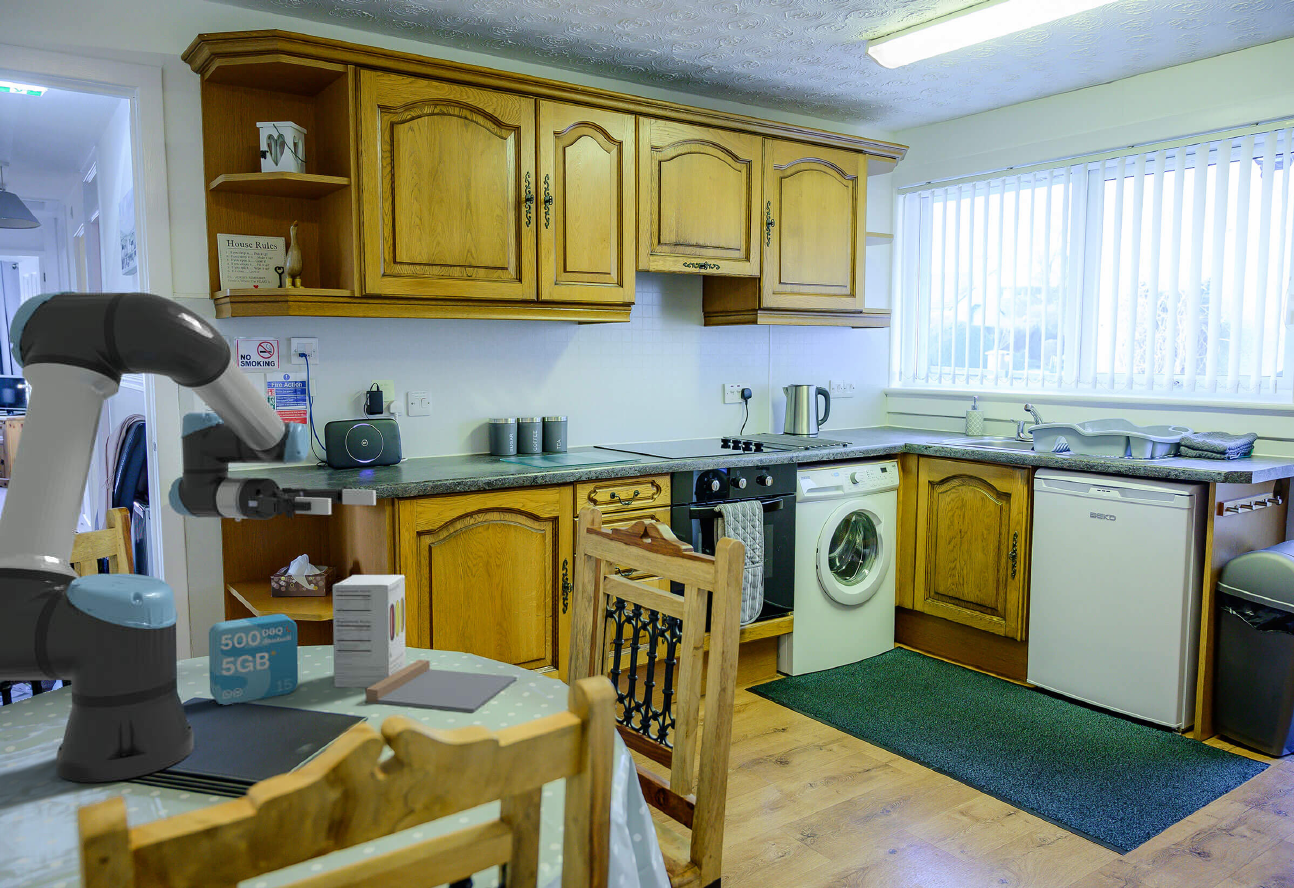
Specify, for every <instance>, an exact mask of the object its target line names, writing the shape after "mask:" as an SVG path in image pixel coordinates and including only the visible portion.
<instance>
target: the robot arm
mask: <svg viewBox="0 0 1294 888" xmlns="http://www.w3.org/2000/svg"><path fill="white" fill-rule="evenodd" d="M8 338H9V343H10V344H12V347H11V348H10V351H11V352H10V353H11V356H12V357H13V359H14V361H15V363H16V364H17V365H18V366H19V367H20V368H21V369H22V370H21V376H22V378H23V379H24V380H25V381H26V383H28V385H30V387H31V391H30V395H29V399H28V402H27V403H28V404H27V407H26V411H25V415H24V419H23V423H22V428H21V433H20V436H19V441H18V444H17V448H16V453H15V456H14V460H13V465H12V470H11V473H10V477H9V481H8V486H7V489H6V495H5V498H4V501H3V506H2V510H1V514H0V683H2V682H5V681H13V682H14V681H70V683H71V684H70V685H71V686H70V687H71V711H70V713H69V716H68V720H67V723H66V727H65V730H64V735H63V740H62V742H61V744H60V745H58V749H57V752H56V773H57V774H58V776H59V777H61V778H62V779H65V780H68V781H72V782H77V783H103V782H104V783H106V782H115V781H120V780H126V779H132V778H137V777H141V776H145V775H149V774H151V773H155V772H158V771H161V770H165V769H166V767H167V768H168V767H171V766H173V765H175V763H176V764H178V763H179V762H181V761H183V760H184V759H186V758H187V757H188V756H190V755H191V753H192V752H193V750H194V747H195V745H194V743H195V742H194V730H193V727H192V725H191V724H190V723H189V722H188V719H187V715H186V711H185V709H184V705H183V703H182V700H181V698H180V695H179V693H178V664H177V662H178V661H177V660H178V659H177V650H178V649H177V619H178V613H177V609H176V601H175V599H176V598H175V594H174V590H173V588H172V586H171V585H169V584H168V583H167V582H166V581H164V580H162V579H159V578H156V577H154V576H153V577H152V576H149V575H144V574H134V573H113V574H111V573H97V574H96V573H95V574H90V575H83V576H79V574H77V572H76V571H75V570H74V569H73V568H72V566H71V564H70V563H71V559H72V555H73V550H74V549H73V548H74V545H75V541H76V534H77V531H78V525H79V521H80V516H81V511H82V506H83V502H84V497H85V492H86V487H87V483H88V478H89V473H90V469H91V463H92V460H93V454H94V449H95V446H96V445H95V444H96V440H97V435H98V430H99V426H100V421H101V417H102V413H103V407H104V402H105V401H106V400H107V399H110V398H111V397H113V396H115V395H117V394H118V393H119V391H120V385H121V380H122V377H123V375H139V374H141V375H142V374H147V375H149V374H151V375H159V376H164V377H167V378H170V379H171V381H173V382H174V383H175V384H177V385H178V386H180V387H183V388H188V389H191V390H192V391H193V392H194V393H195V395H197V396H198V398H200V399H201V401H203V402H204V403H205V405H207V406H208V407H209V409H210V410H212V412H188V413H186V414H184V416H183V417H182V426H181V427H182V429H181V431H182V432H181V437H180V438H181V443H182V449H181V450H182V476H179V477H177V478H175V480H174V481H173V482H172V483H171V484H170V485H171V486H170V487H171V488H170V490H169V491H168V496H167V497H168V502H169V505H170V506H171V509H172V510H173V511H174V512H175V513H177V514H179V515H181V516H186V517H189V516H190V517H193V518H194V517H195V518H213V519H214V518H215V519H217V518H219V519H221V518H222V519H234V520H235V522H239V523H240V522H241V520H242V519H249V520H266V521H267V520H269V519H272V518H274V517H275V516H276V515H278V516H281V515H284V514H286V515H285V516H286V517H285V518H287V519H289V518H294V516H295V515H294V514H296V515H297V514H298V515H299V514H302V515H303V514H304V515H325V516H329V515H332V504H342V505H354V506H356V505H357V506H376V505H377V492H376V489H375V490H374V489H350V488H348V486H347V485H342V487H341V488H303V487H302V488H300V487H299V488H298V487H297V488H292V487H280V486H279V484H278V483H277V482H276V481H275V480H274V479H272V478H269V477H268V478H267V477H266V478H265V477H244V476H229V464H281V465H287V464H296V463H298V464H299V463H302V462H303V461H305V460H306V459H307V458H308V457H307V456H308V455H309V452H310V442H311V440H310V434H309V433H310V432H309V430H308V428H307V426H306V425H305V424H304V423H301V422H294V421H289V422H285V421H284V419H282V417H281V416H279V414H278V413H277V412H276V410H275V409H274V408H273V407H272V406H271V405H270V403H269V402H268V401H267V399H266V398H264V396H263V395H262V394H261V392H260V391H259V390H258V388H256V386H255V385H254V384H253V383H252V382H251V380H250V379H249V378H248V377H247V375H246V374H245V373H244V372H243V370H242V369H241V368H240V367H239V366H238V365H237V363H236V362H235V361H234V359H232V358H233V357H232V356H233V355H232V349H231V346H230V345H229V343H228V341H226V339H225V338H224V337H223V335H221V332H219V331H218V330H217V329H216V328H214V326H213V325H211V323H209V322H208V321H207V320H206V319H204V318H203V317H201V316H200V315H198V314H197V313H195V312H194V311H193V310H191V309H189V308H187V307H185V306H184V305H183V304H180V303H178V302H176V301H174V300H172V299H169V298H166V297H163V296H162V295H161V296H160V295H158V294H153V293H148V292H141V291H140V292H138V291H137V292H136V291H133V292H131V291H130V292H77V291H72V290H70V291H69V290H65V291H62V290H61V291H57V292H46V293H40V294H37V295H34V296H31V297H30V298H28V299H27V300H25V301H24V302H23V303H22V304H21V305H20V306H19V308H18V309H17V310H16V312H15V314H14V316H13V318H12V321H11V323H10V328H9V336H8ZM294 512H295V513H294ZM193 746H194V747H193ZM192 749H193V750H192ZM191 751H192V752H191ZM187 755H188V756H187ZM186 756H187V757H186ZM185 757H186V758H185ZM182 759H183V760H182Z"/></svg>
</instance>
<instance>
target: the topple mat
mask: <svg viewBox="0 0 1294 888" xmlns="http://www.w3.org/2000/svg"><path fill="white" fill-rule="evenodd" d="M516 679H517V676H511V675H500V674H489V673H477V672H465V671H455V670H454V671H452V670H441V669H431V668H430V660H425V659H418V660H415V661H414V662H413V663H410V664H409V665H407V666H406V667H405V668H403V669H401V670H400V671H398V672H396V673H394V674H392V675H391V676H389V677H387V678H385V679H383V680H381V681H380V682H378V683H376V684H374V685H372V686H371V687H369V688H366V689H365V701H366V703H374V704H383V705H384V704H385V705H386V704H387V705H396V706H407V707H414V708H415V707H416V708H427V709H435V710H436V709H437V710H445V711H446V710H448V711H458V712H467V713H474V712H476V711H477V710H478V709H480V708H482V706H484V705H485V704H486V703H488V702H489V701H491V700H492V699H493V698H494V697H496V696H497V695H499V694H500V693H501V692H503V691H504V690H505V689H506V688H507V687H509V686H511V685H512V684H513V683H515V682H516V681H517V680H516ZM515 680H516V681H515Z"/></svg>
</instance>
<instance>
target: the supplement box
mask: <svg viewBox="0 0 1294 888" xmlns="http://www.w3.org/2000/svg"><path fill="white" fill-rule="evenodd" d="M405 579H406V576H405V575H404V574H352V575H351V576H349V577H346V579H343V580H341V581H340V582H338V583H334V584H333V585H332V615H333V616H332V618H333V621H332V622H333V623H332V624H333V626H332V627H333V687H334V688H363V689H364V688H366V689H367V688H369V687H371V686H372V685H374V684H376V683H378V682H380V681H381V680H383V679H385V678H387V677H389V676H391V675H392V674H394V673H396V672H398V671H400V670H401V669H403V668H405V667H407V666H406V597H405V596H406V594H405V593H406V589H405V588H406V585H405V583H406V580H405Z"/></svg>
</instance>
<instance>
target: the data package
mask: <svg viewBox="0 0 1294 888" xmlns="http://www.w3.org/2000/svg"><path fill="white" fill-rule="evenodd" d="M298 658H299V657H298V625H297V623H296V622H295V620H293V619H292V618H290V617H288V615H286V614H284V613H277V614H269V615H263V616H257V617H247V618H241V619H240V618H239V619H234V620H233V619H232V620H225V621H220V622H217V623H214V624H213V625H212V626H211V627H210V628H209V631H208V660H209V666H208V667H209V668H208V669H209V692H210V695H211V696H212V697H213V699H214V700H215V701H216V702H217V704H218V705H220V704H225V703H231V702H232V703H233V702H239V703H238V704H243V703H246V702H253V701H258V700H263V699H268V698H274V697H279V696H285V695H288V694H291V693H292V692H294V691H295V690H296V689H297V687H298V683H299V674H298V672H299V671H298V669H299V666H298Z"/></svg>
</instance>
